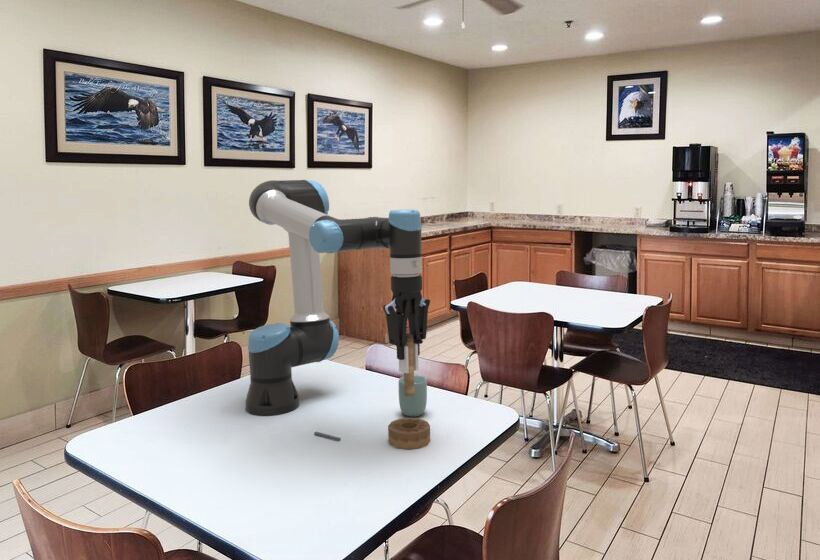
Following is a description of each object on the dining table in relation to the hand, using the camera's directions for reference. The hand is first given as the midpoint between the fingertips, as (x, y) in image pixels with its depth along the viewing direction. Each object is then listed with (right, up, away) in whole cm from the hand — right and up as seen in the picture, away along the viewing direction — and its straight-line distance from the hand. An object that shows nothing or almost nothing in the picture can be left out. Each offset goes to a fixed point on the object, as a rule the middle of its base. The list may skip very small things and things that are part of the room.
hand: (408, 370), depth 152 cm
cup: (+1, -15, +21) cm, 26 cm away
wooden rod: (0, -6, +1) cm, 6 cm away
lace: (-21, -18, +6) cm, 28 cm away
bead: (0, -18, +3) cm, 18 cm away
